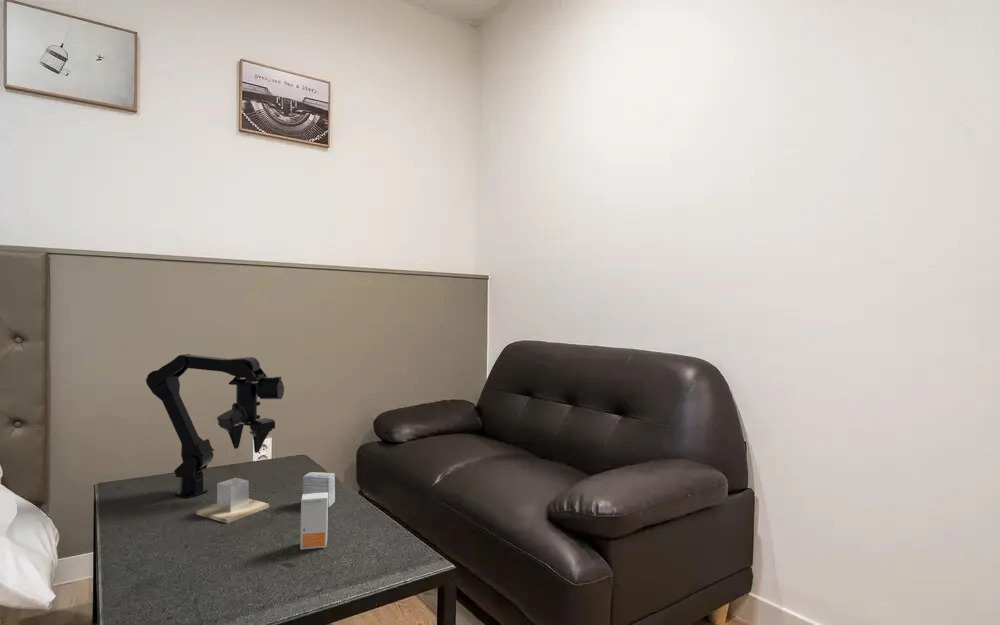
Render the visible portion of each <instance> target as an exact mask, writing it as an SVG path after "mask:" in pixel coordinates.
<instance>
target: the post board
mask: <svg viewBox="0 0 1000 625" xmlns="http://www.w3.org/2000/svg"><path fill="white" fill-rule="evenodd" d="M269 508H270V504H269V503H266V502H264V501H260V500H256V499H252V498H249V506H246V507H244V508H241V509H238V510H236V511H233V512H227V511H224V510H220V509H217V502H216V503H214V504H211V505H208V506H205V507H203V508H199V509H197V510H195V515H197V516H200V517H204V518H208V519H211V520H214V521H218V522H221V523H225V524H230V523H233V522H235V521H238V520H240V519H242V518H246V517H248V516H251V515H253V514H256V513H258V512H261V511H264V510H266V509H269Z"/></svg>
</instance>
